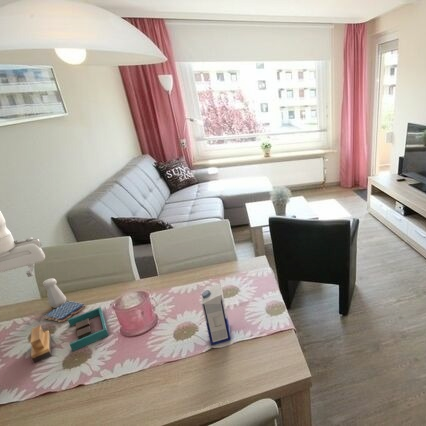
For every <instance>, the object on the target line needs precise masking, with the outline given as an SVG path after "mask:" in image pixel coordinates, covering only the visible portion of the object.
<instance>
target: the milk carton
mask: <svg viewBox="0 0 426 426" xmlns="http://www.w3.org/2000/svg"><path fill="white" fill-rule="evenodd" d="M201 307H202V311H203V315H204V320H205V323H206V328H207V333H208V338H209V341H210V345H211V346H213V345H217V344H220V343H225V342H227V341H228V342H229V341H231V340H232V338H231V328H230V322H229V318H228V317H229V316H228V313H227V308H226V303H225V297H224V293H223V286H222V283H218V284H216V285H214V286H211V287H210V288H208V289H205V290H203V291H202V292H201Z"/></svg>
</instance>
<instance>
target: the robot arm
mask: <svg viewBox="0 0 426 426" xmlns="http://www.w3.org/2000/svg"><path fill="white" fill-rule="evenodd" d="M6 223H7V221H6V219H5V216H4V215H3V213H2V211H1V210H0V274H1V273H4V272H9V271H11V270H16V269H19V268H24V267H28V268H29V270H27V271H26V272H25V274H26V276H27V277H28V278H30V277H33V276H35V274H34V271H33V270H34V268H35V265H36V264H39V263H42V262H44V261H45V259H46V254H45V252H44V250H43V249H42V243H41V241H40V239H39V238H35V237H27V238H24V239H17V240H15V239H14V237H13V234H12V233H11V231H10V230H9V228H8V227H7V225H6Z"/></svg>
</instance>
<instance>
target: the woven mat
mask: <svg viewBox="0 0 426 426" xmlns="http://www.w3.org/2000/svg"><path fill="white" fill-rule="evenodd" d="M85 307H86V304H84V303H81V302H78V301H71V300H66V302H65V303H64V304H63V305H61V306H59V307H57V308H52V310H51V311H48V313H46V314H44V318H43V319H44V320H48V321H51V320H52V321H54V322H57V323H63V322H66V320H68V319H70V318H72V316H73V315H75V314H77V313H79V312H80V311H81V310H83V309H84V308H85Z"/></svg>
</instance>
